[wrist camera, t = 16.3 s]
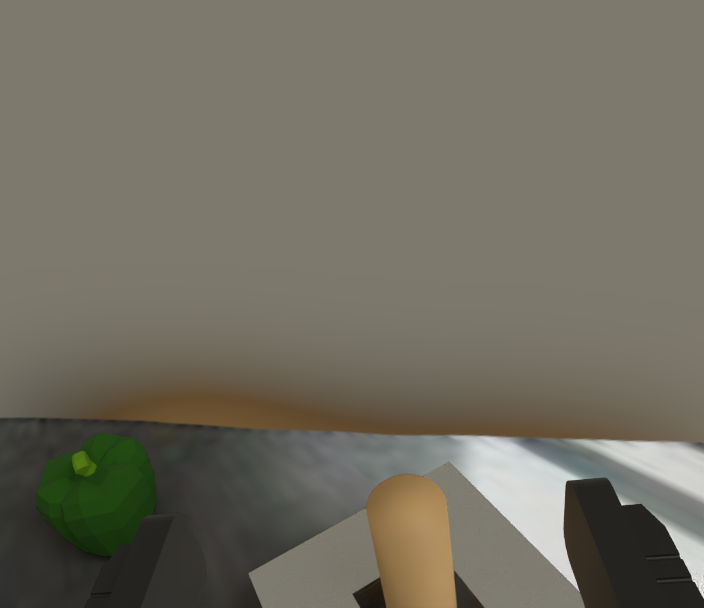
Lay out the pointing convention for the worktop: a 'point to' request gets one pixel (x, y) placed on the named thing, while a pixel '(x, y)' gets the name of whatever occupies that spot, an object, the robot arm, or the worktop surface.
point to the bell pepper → (98, 493)
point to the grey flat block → (467, 554)
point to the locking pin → (412, 542)
